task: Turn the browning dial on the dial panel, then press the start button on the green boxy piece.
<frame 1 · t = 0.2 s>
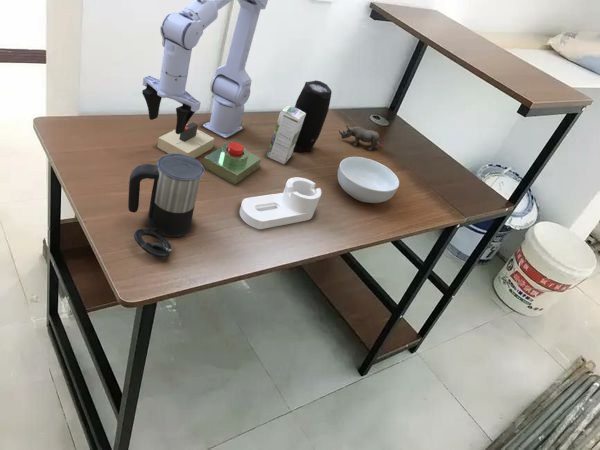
hand: (166, 125, 121), 10 cm above the table, tool pointing down, fingers open, 7 cm apart
rhino figurine: (355, 144, 167), on the table
start button: (235, 149, 131), point 5 cm above the table, slide at 0.1 cm
cereal bowl: (360, 194, 143), on the table
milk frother: (163, 235, 107), on the table
portable speaker: (298, 146, 154), on the table
browning dial: (188, 131, 132), point 5 cm above the table, hinge at 0.0°
bracket: (277, 213, 124), on the table
green boxy piece: (231, 167, 134), on the table
dial panel: (185, 147, 135), on the table
syrup box: (278, 157, 146), on the table
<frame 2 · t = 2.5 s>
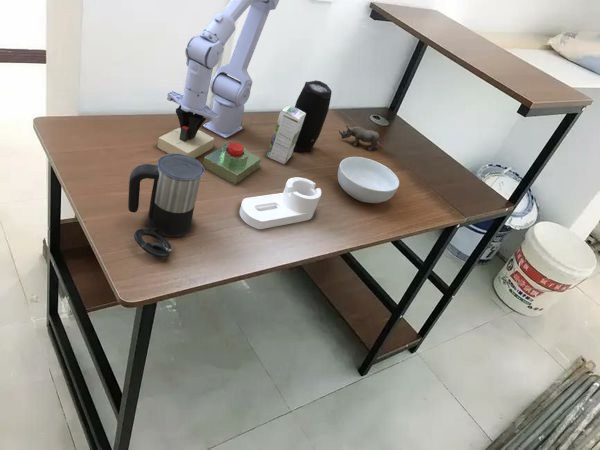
hand: (187, 136, 133), 4 cm above the table, tool pointing down, fingers closed on browning dial, 2 cm apart
browning dial: (188, 131, 132), point 5 cm above the table, hinge at 0.0°, touching gripper
everything else where it was.
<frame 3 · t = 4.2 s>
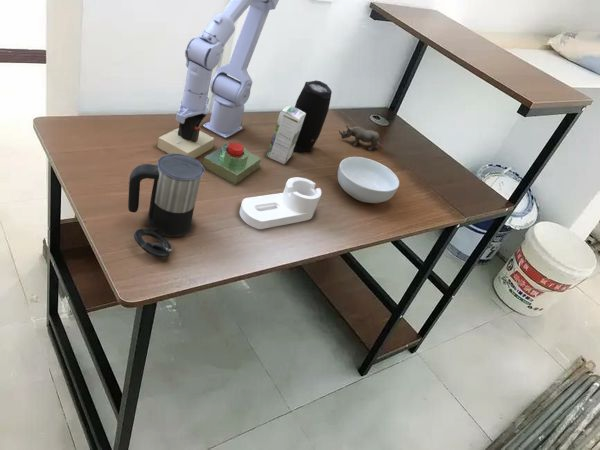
hand: (187, 137, 133), 3 cm above the table, tool pointing down, fingers closed on browning dial, 2 cm apart
browning dial: (188, 131, 132), point 5 cm above the table, hinge at 100.0°, touching gripper
everything else where it was.
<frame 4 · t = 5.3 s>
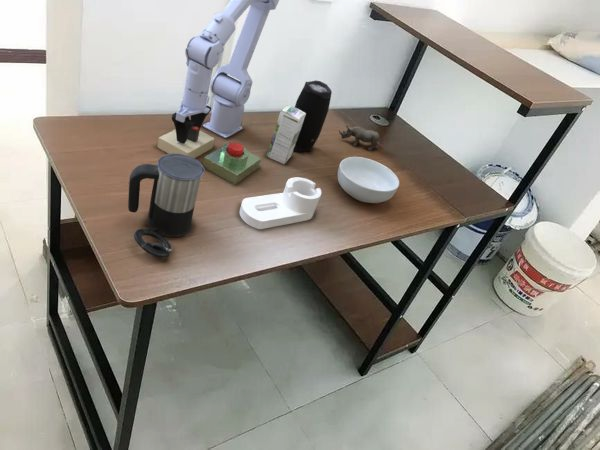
hand: (187, 136, 133), 3 cm above the table, tool pointing down, fingers open, 7 cm apart
browning dial: (188, 131, 132), point 5 cm above the table, hinge at 100.1°
everything else where it was.
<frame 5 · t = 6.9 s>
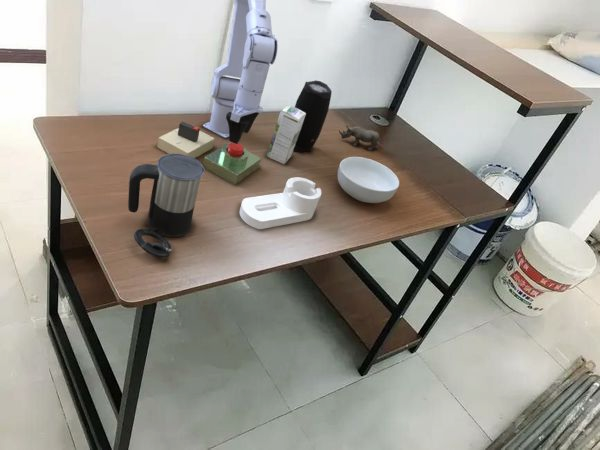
hand: (238, 136, 129), 9 cm above the table, tool pointing down, fingers open, 6 cm apart
nothing on the table moved.
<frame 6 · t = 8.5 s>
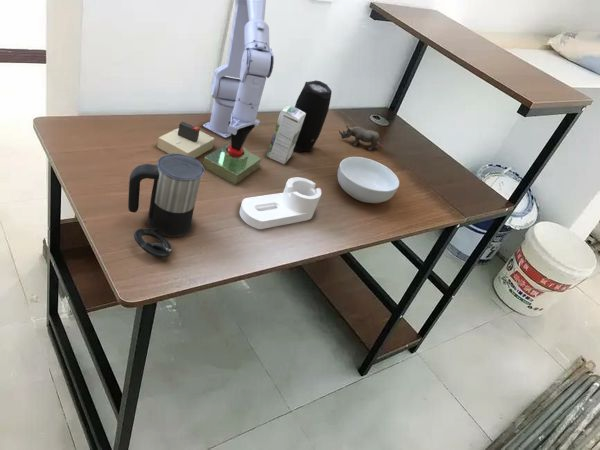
hand: (236, 148, 131), 6 cm above the table, tool pointing down, fingers closed, pressing on start button
start button: (235, 150, 131), point 5 cm above the table, slide at -0.3 cm, touching gripper
everything else where it was.
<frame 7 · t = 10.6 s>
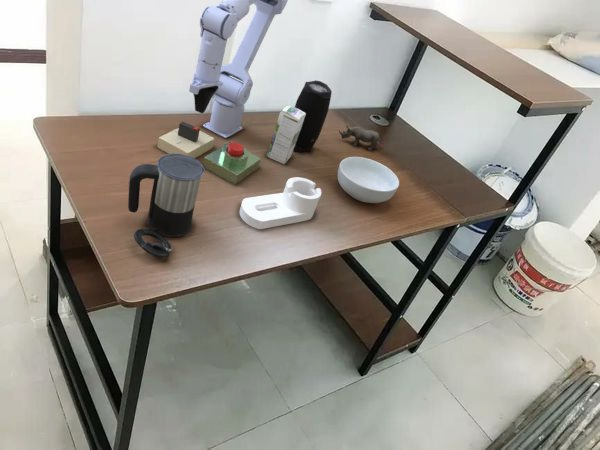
hand: (199, 111, 131), 10 cm above the table, tool pointing down, fingers closed
start button: (235, 149, 131), point 5 cm above the table, slide at 0.1 cm
everything else where it was.
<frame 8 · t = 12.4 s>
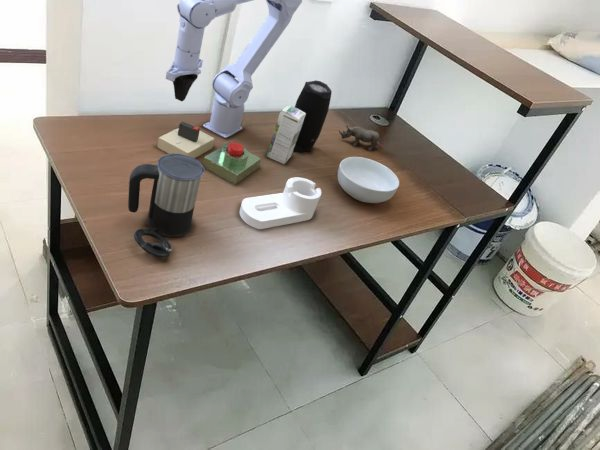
hand: (179, 99, 133), 10 cm above the table, tool pointing down, fingers closed
nothing on the table moved.
at the end: browning dial at +100° (first picture: +0°); start button pushed in 1.4 cm at the most during the clip, back to where it started at the end; start button slide at 0.1 cm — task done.
